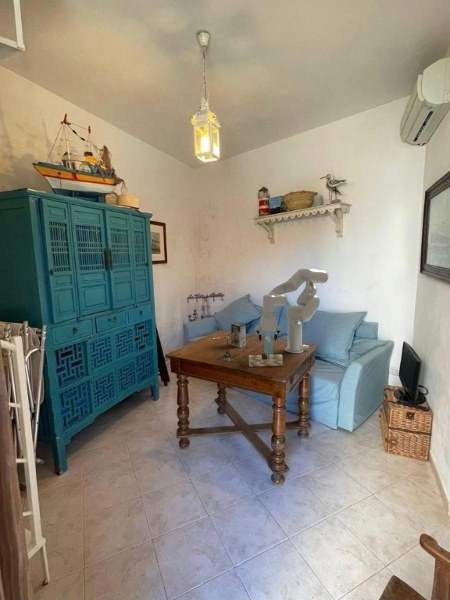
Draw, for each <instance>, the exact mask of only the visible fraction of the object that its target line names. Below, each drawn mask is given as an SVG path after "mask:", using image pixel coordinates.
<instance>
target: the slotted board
mask: <svg viewBox="0 0 450 600" xmlns="http://www.w3.org/2000/svg"><path fill="white" fill-rule="evenodd" d="M283 359H284V358H283V354H280V353H279V354H273V355H269V359H267V358H266V359H263V356H262V354H249V355H248V366H249V367H277V366H279V367H280V366H283V362H284V361H283Z"/></svg>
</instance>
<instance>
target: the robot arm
mask: <svg viewBox="0 0 450 600" xmlns="http://www.w3.org/2000/svg"><path fill="white" fill-rule="evenodd" d="M328 280H329V274H328V272H327V271H325V270H320V269H319V270H318V269H313V268H300V269H298V270H297V271H296V272H295V273H294V274H293V275H291V277H290V278H289V279H287V280H286V281H285V282H283V283H281V284H279V285H277V286H275V287H274V288H273V289H271V290H270V292H269V293H268V294H264V295H263V297H262V315H261V316H260V321H259V322H260V323H259V324H258V325H257V326H255V327H254V330H255V332H256V333H257V334H258V340H259V341H260V342H261V341H262V333H274V334H273V335H274V337H273V338H274V341H275V342H276V341H277V339H278V335H279V333H280V332H281V331H282V329H283V328H282V327H281V326H279V325H277V318H276V315H277V314H278V313H277V312H276V311H275V310H276V309H275V308H276V307H282V306H283V307H284V306H285V305H286V304H287V302H288V298H287V296H286V295H285V294H287V293H293V292H296V291H297V290H298V289H299V288H300V287H301V286H302V285H303V284H304V283H305V286H304V289H303V290H302V291H301V293H300V294H299V296H298V297H297V298H296V304H297V305H294V304H293V305H289V306H288V307H287V309H286V318H287V346H286V347H285V348H284V349H285V352H287V353H291V354H301V353H304V351H305V349H309V347H310V346H309V344H308V345H306V344H303V323H307V322H309V321H310V320H311V319H312V317H313V316H314V314H315V313H316V312H317V310H318V309H319V307H320V303H321V300H320V298H319V296H317V292H318V289H317V284H326V283H327V282H328ZM258 329H259V330H258ZM277 329H278V330H277Z"/></svg>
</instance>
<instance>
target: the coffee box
mask: <svg viewBox="0 0 450 600" xmlns="http://www.w3.org/2000/svg"><path fill="white" fill-rule="evenodd" d="M230 328H231V329H230V330H231V331H230V332H231V333H230V334H231V338H230V339H231V346H233V347H236V348H243V347H246V346H247V345H246V344H247V343H246V342H247V341H246V337H247V335H246V333H247V332H246V331H247V330H246V328H247V326H246V324H244V323H238V322H236V323H231V326H230Z"/></svg>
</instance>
